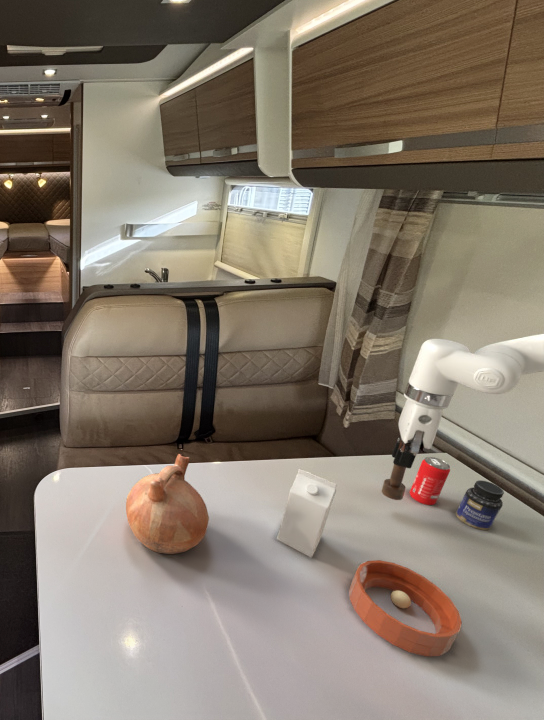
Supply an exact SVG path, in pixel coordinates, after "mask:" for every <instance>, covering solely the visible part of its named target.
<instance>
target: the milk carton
mask: <svg viewBox="0 0 544 720" xmlns="http://www.w3.org/2000/svg"><path fill="white" fill-rule="evenodd" d="M337 486H338V485H337V483H335V482H334V481H333V482H332V481H330V480H328V479H325V478H324V477H321V476H318V475H316V474H313V473H311V472H309V471H306V470H304V469H302V468H298V470H297V474H296V476H295V478H294V481H293V482H292V485H291V488H290V490H289V493H288V496H287V500H286V505H285V508H284V512H283V514H282V515H283V516H282V519H281V522H280V526H279V530H278V534H277V537H276V540H277V541H280V542H281V543H282V544H284V545H287V546H288V547H290V548H291V549H294V550H296V551H298V552H300V553H301V554H303V555H305V556H307V557H309V558H313V556H314V554H315V552H316V550H317V547H318V545H319V543H320V542H321V538H322V536H323V532H324V530H325V527H326V523H327V521H328V517H329V514H330V512H331V508H332V505H333V502H334V500H335V495H336V493H337Z"/></svg>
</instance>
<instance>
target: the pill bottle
mask: <svg viewBox="0 0 544 720" xmlns="http://www.w3.org/2000/svg"><path fill="white" fill-rule="evenodd" d="M504 493H505V492H504V490H503V489H502V488H501V487H500V486H498V485H497V484H495V483H493V482H490V481H487V480H479V479H478V480H477V481H475V482H474V485H473V487H469V488H467V489H466V491H465V493H464V494H463V495H464V496H463V498H462V500H461V501H460V503H459V505H458V507H457V509H456V512H455V517H456V518H457V519H458V520H459V521H460V522H462V523H463V524H465V525H466V526H469V527H471V528H473V529H476V530H478V531H479V530H480V531H488V530H490V529H491V527H492V526H493V524H494V522H495V520H496V519H497V516H498V515H499V513H500V511H501V509H502V507H503V506H504V505H503V503H504V502H503V500H502V498H503V496H504Z"/></svg>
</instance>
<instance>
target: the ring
mask: <svg viewBox="0 0 544 720" xmlns="http://www.w3.org/2000/svg"><path fill="white" fill-rule="evenodd" d="M370 588H382V589H388V590H389V591H392V592H393V591H396V590H399V591H402V592H404V593H406V594H407V595H408V596H409V598H410V600H411V602H413V603H414V604H415V605H417V606H418V607H419V608H420V609H421V610H422V611H423V612H424V613H425V614H426V615H427V616H428V617H429V619H430V621H431V622H432V623H433V625H434V628H435V633H434V632H433V633H432V632H428V631H423V630H419V629H417V628H414V627H412V626H410V625H408V624H405V623H403V622H401V621H400V620H398V619H397V618H395V617H393V616H392V615H390V614H389V613H387V612H386V611H385V610H384V609H383V608H381V607H380V606H379V605H378V604H377V603H375V601H373V599H372V598H371V597H370V595H369V594H368V593H367V592H366V590H368V589H370ZM348 592H349V593H348V595H349V598H348V599H349V601H350V603H351V605H352V607H353V610H354V612H355V613H356V614H357V615H358V617H359V618H360V619H361V620H362V622H363V623H364V624H365V625H366V626H368V627H369V628H370V630H372V631H373V632H374V633H375V634H376V635H377V636H379V637H381V638H382V639H383V640H385V641H387V642H388V643H389V644H391V645H392V646H395V647H397V648H399V649H401V650H404V651H406V652H408V653H411V654H415V655H419V656H423V657H427V658H429V657H440V656H443V655H445V653H447V652H449V651H450V649H451V647H452V646H453V644H454V642H455V640H456V638H457V637H458V635H459V633H460V631H461V627H462V624H463V622H462V618H461V614H460V611H459V610H458V608H457V606H456V605H455V604H454V602H453V601H452V599H451V597H449V596H448V595H447V594H446V593H445V592H444V591H443V590H442V589H441V588H440V587H439V586H437V585H436V584H434V583H433V581H431V580H429V579H428V578H426V577H425V576H423V575H422V574H420V573H418V572H416V571H414V570H412V569H411V568H408V567H405V566H403V565H401V564H398V563H395V562H391V561H387V560H382V559H381V560H380V559H375V560H367V561H364V562H363V563H360V564H359V566H358V567H357V569H356V570H355V573H354V576H353V578H352V580H351V584H350V586H349V589H348Z"/></svg>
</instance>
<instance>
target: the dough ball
mask: <svg viewBox="0 0 544 720" xmlns="http://www.w3.org/2000/svg"><path fill="white" fill-rule="evenodd" d="M390 599H391V600H390V601H392V603H393V604H394V605H395V606H396V607H398V608H401V609H408V608H410V606H411V604H412V600H410V598H409V596H408V595H407V594H406V593H404V592H402V591H399V590H396V591H393V590H392V592H391V593H390Z"/></svg>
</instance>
